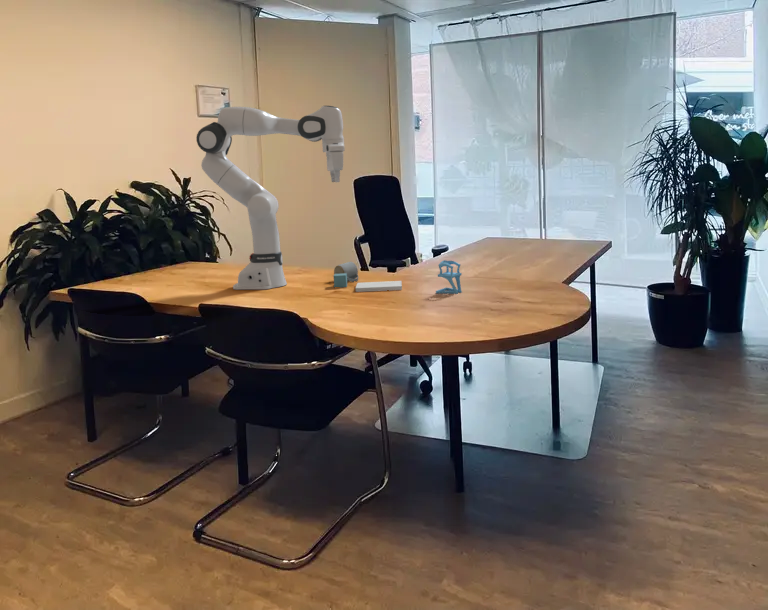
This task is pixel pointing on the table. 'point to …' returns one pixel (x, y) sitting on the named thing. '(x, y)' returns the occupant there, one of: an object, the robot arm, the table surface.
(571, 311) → the table surface
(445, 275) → the chair
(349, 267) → the ceramic mug
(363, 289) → the grey board
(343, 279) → the teal block
